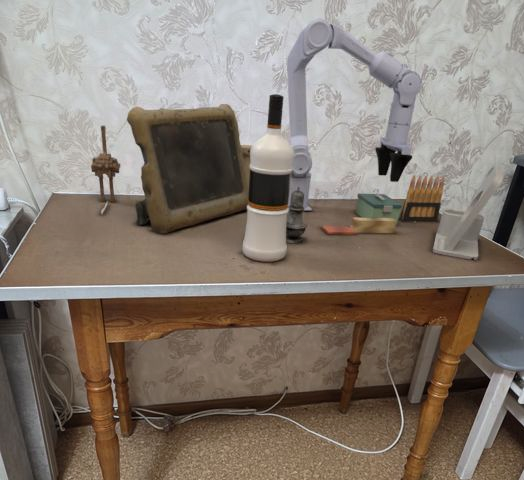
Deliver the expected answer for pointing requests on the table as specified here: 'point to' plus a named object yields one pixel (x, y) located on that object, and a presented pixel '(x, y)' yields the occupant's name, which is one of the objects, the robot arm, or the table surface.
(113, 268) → the table surface
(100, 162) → the ostrich figurine
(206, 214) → the tablet
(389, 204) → the tiffin box
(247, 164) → the handle
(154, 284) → the table surface
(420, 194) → the ammunition clip
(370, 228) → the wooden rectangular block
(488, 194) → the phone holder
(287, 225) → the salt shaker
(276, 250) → the vodka
